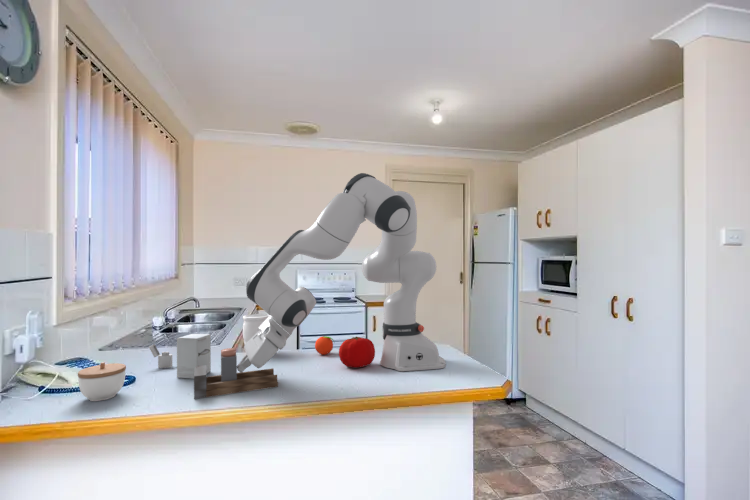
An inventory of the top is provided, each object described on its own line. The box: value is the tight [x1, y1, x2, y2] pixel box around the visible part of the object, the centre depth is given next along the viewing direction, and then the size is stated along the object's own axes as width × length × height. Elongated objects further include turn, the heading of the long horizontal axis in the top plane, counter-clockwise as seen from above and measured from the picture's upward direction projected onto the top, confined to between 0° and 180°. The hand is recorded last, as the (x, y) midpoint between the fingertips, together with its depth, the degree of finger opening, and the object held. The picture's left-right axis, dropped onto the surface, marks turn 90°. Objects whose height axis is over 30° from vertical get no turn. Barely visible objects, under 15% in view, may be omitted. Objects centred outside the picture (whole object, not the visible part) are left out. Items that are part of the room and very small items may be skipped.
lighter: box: [148, 343, 173, 369], centre depth 133 cm, size 7×2×8 cm, turn 96°
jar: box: [242, 313, 271, 345], centre depth 150 cm, size 11×10×15 cm
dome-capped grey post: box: [220, 347, 238, 382], centre depth 111 cm, size 4×5×9 cm
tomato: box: [338, 336, 376, 369], centre depth 131 cm, size 11×13×10 cm
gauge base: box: [193, 366, 279, 400], centre depth 112 cm, size 22×10×6 cm, turn 113°
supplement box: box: [176, 333, 212, 380], centre depth 124 cm, size 7×7×13 cm
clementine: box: [314, 335, 335, 356], centre depth 148 cm, size 8×7×7 cm
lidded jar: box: [77, 361, 127, 402], centre depth 105 cm, size 11×11×9 cm
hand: (238, 370), depth 112 cm, fingers closed, pressing on dome-capped grey post
